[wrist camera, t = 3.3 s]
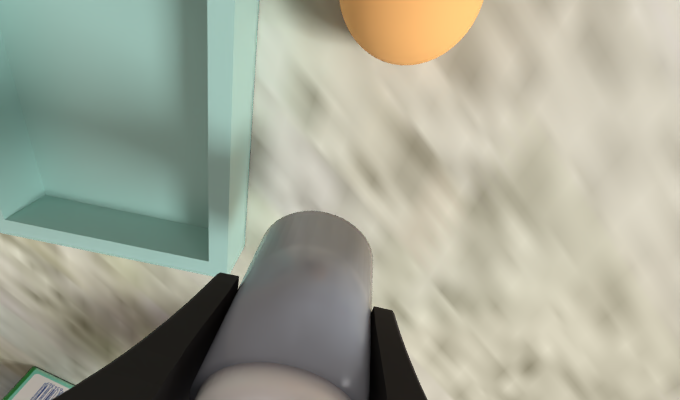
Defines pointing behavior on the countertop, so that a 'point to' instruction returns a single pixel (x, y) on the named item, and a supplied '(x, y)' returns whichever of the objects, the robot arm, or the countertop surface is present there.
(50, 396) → the milk carton
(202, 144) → the tray
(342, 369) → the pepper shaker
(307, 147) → the countertop surface
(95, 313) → the countertop surface
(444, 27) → the ball
